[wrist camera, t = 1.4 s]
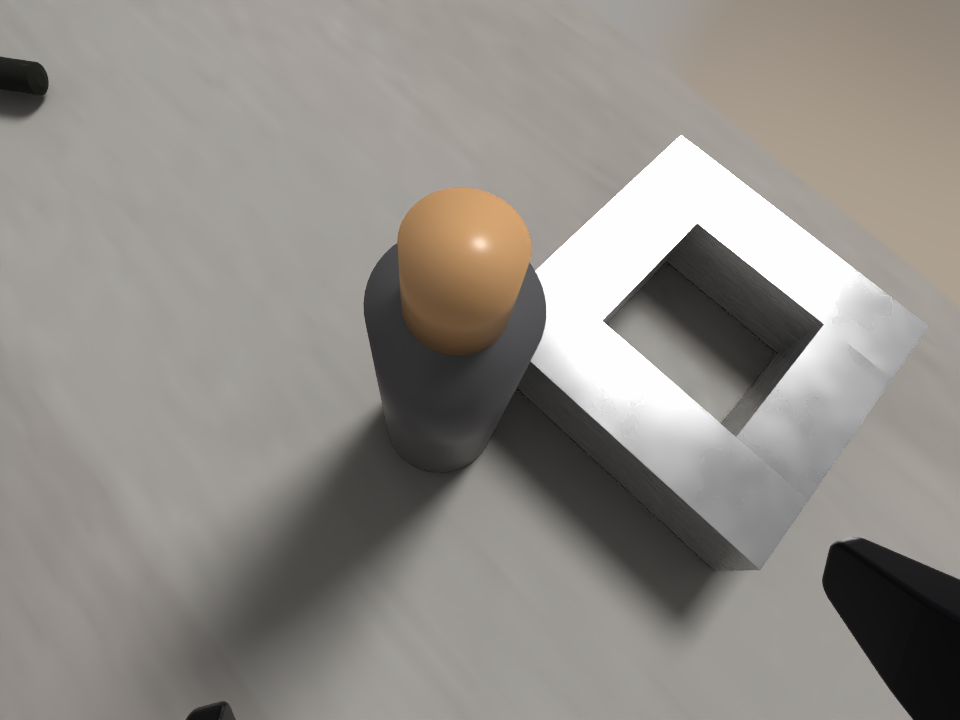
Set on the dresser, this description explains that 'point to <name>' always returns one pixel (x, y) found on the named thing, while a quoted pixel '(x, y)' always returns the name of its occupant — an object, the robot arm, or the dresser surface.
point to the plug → (452, 325)
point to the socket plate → (753, 302)
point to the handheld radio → (23, 76)
